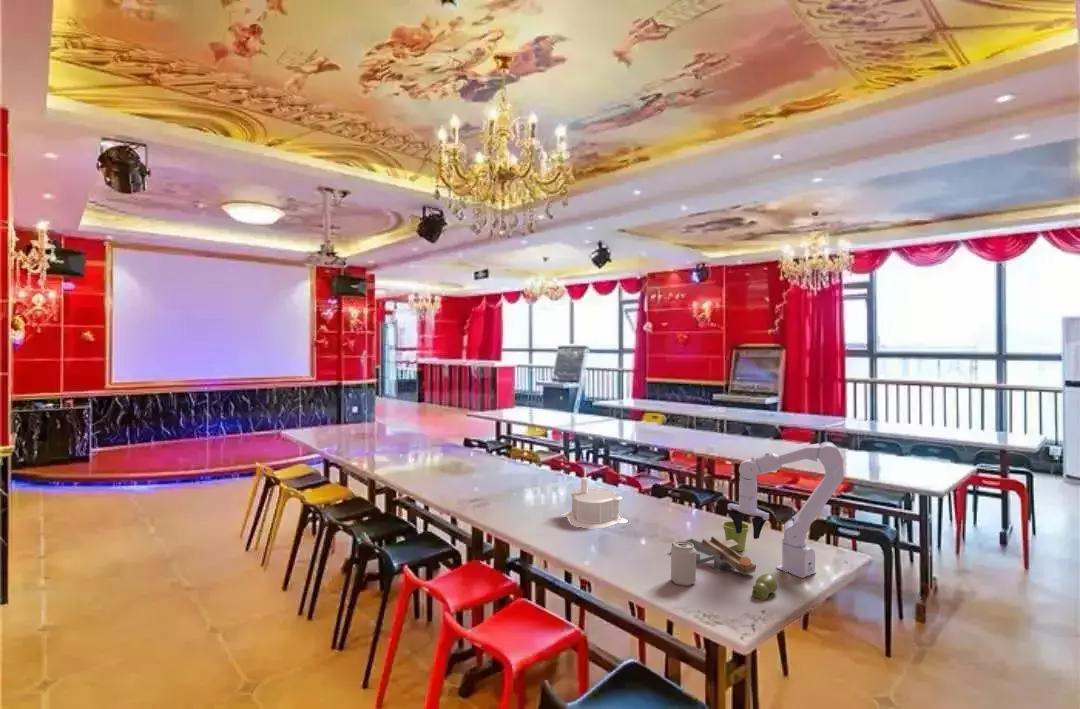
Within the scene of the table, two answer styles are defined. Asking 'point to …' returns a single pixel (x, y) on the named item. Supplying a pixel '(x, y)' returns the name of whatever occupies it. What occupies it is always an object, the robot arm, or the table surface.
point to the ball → (745, 562)
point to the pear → (764, 586)
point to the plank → (728, 554)
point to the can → (683, 563)
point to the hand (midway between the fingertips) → (747, 535)
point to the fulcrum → (720, 564)
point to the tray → (700, 551)
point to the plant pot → (731, 534)
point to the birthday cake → (594, 507)
